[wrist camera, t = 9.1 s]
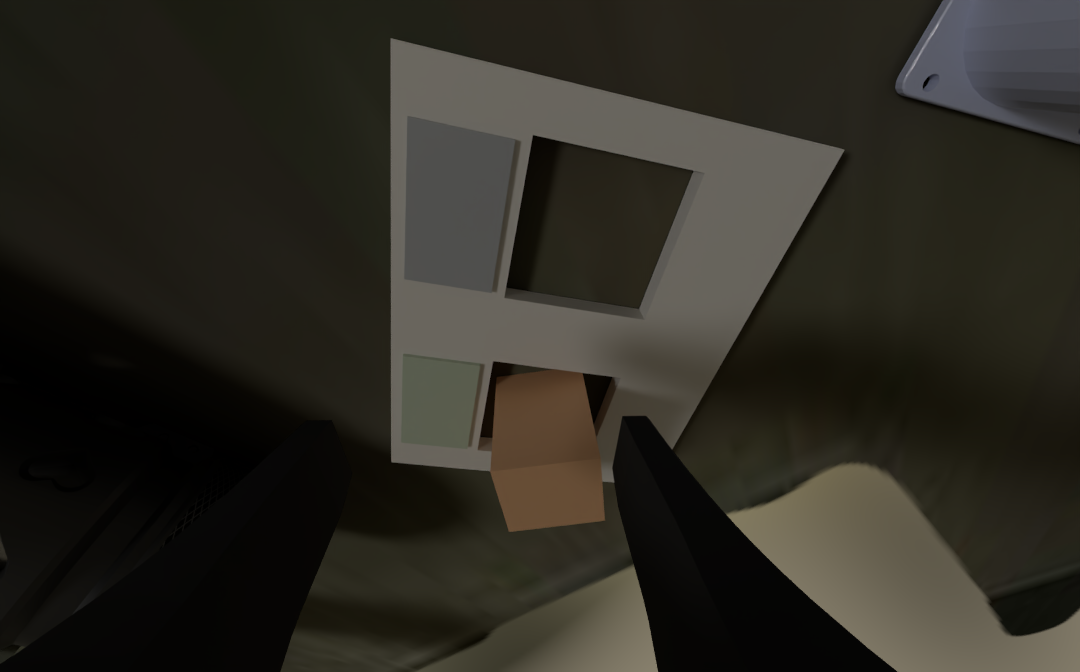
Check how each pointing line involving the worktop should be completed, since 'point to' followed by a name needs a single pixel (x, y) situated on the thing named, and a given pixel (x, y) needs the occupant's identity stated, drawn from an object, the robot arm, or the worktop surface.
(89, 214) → the worktop surface
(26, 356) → the worktop surface
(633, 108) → the panel
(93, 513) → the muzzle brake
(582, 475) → the plug
